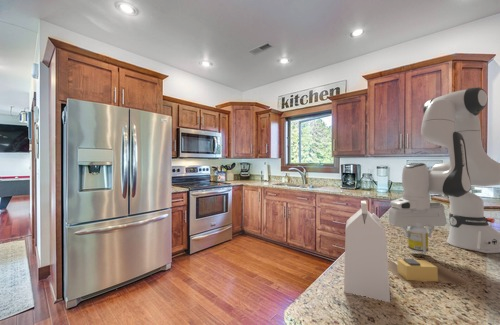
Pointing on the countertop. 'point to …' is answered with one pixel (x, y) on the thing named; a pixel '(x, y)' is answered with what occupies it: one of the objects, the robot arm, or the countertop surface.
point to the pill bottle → (418, 238)
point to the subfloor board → (443, 274)
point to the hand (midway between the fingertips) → (417, 236)
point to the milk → (366, 256)
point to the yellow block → (417, 270)
